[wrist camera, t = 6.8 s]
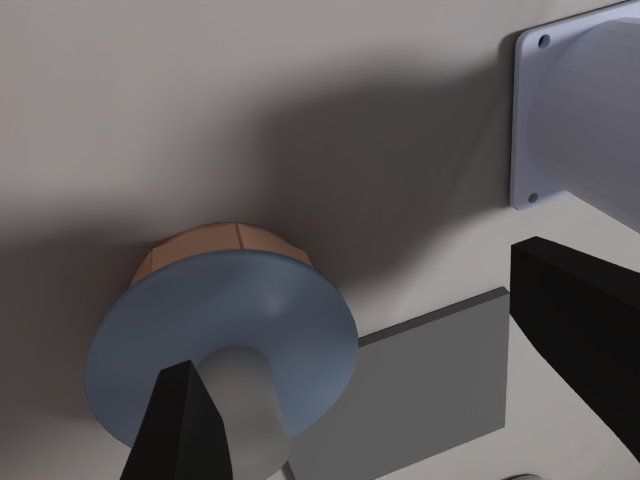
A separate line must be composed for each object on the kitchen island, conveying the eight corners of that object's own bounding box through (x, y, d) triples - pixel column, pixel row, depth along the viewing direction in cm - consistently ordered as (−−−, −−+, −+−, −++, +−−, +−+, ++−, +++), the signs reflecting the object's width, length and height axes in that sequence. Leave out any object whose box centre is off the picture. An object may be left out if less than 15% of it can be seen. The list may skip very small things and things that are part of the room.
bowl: (289, 195, 19) (310, 236, 16) (325, 333, 24) (347, 384, 21) (90, 257, 18) (77, 312, 15) (168, 389, 23) (168, 450, 20)
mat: (503, 286, 25) (510, 293, 25) (499, 419, 32) (504, 427, 32) (254, 376, 24) (256, 385, 23) (304, 497, 30) (306, 506, 30)
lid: (369, 241, 17) (423, 317, 14) (336, 425, 22) (369, 516, 19) (67, 257, 14) (34, 359, 11) (104, 464, 19) (91, 581, 16)
